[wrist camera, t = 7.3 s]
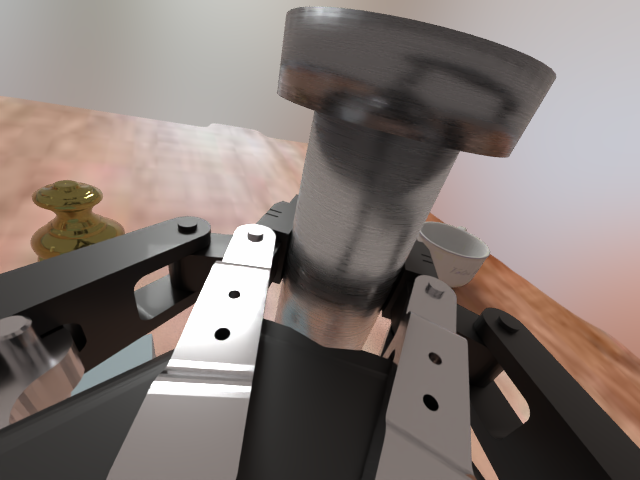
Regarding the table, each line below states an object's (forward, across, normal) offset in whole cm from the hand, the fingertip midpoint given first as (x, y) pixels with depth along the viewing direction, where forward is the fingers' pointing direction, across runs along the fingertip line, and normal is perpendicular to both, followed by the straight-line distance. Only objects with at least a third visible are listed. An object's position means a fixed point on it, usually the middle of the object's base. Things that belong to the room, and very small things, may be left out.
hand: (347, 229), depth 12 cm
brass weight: (+8, +26, +18) cm, 33 cm away
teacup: (+30, -18, +19) cm, 39 cm away
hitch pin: (-3, 0, +9) cm, 9 cm away
